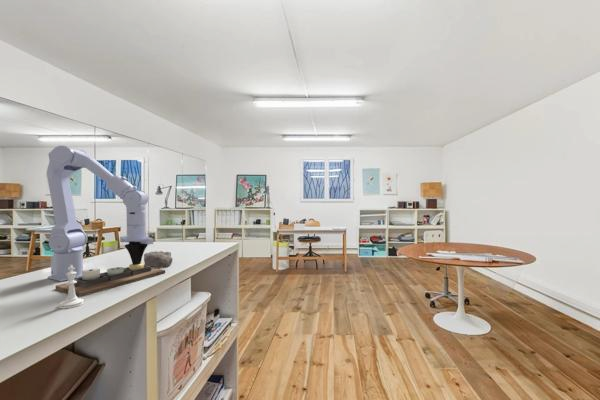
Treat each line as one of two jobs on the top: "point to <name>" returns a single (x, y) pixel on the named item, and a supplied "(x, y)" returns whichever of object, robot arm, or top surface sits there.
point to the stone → (157, 259)
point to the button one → (90, 274)
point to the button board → (110, 280)
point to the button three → (136, 266)
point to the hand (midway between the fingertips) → (136, 263)
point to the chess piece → (71, 292)
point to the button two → (115, 270)
